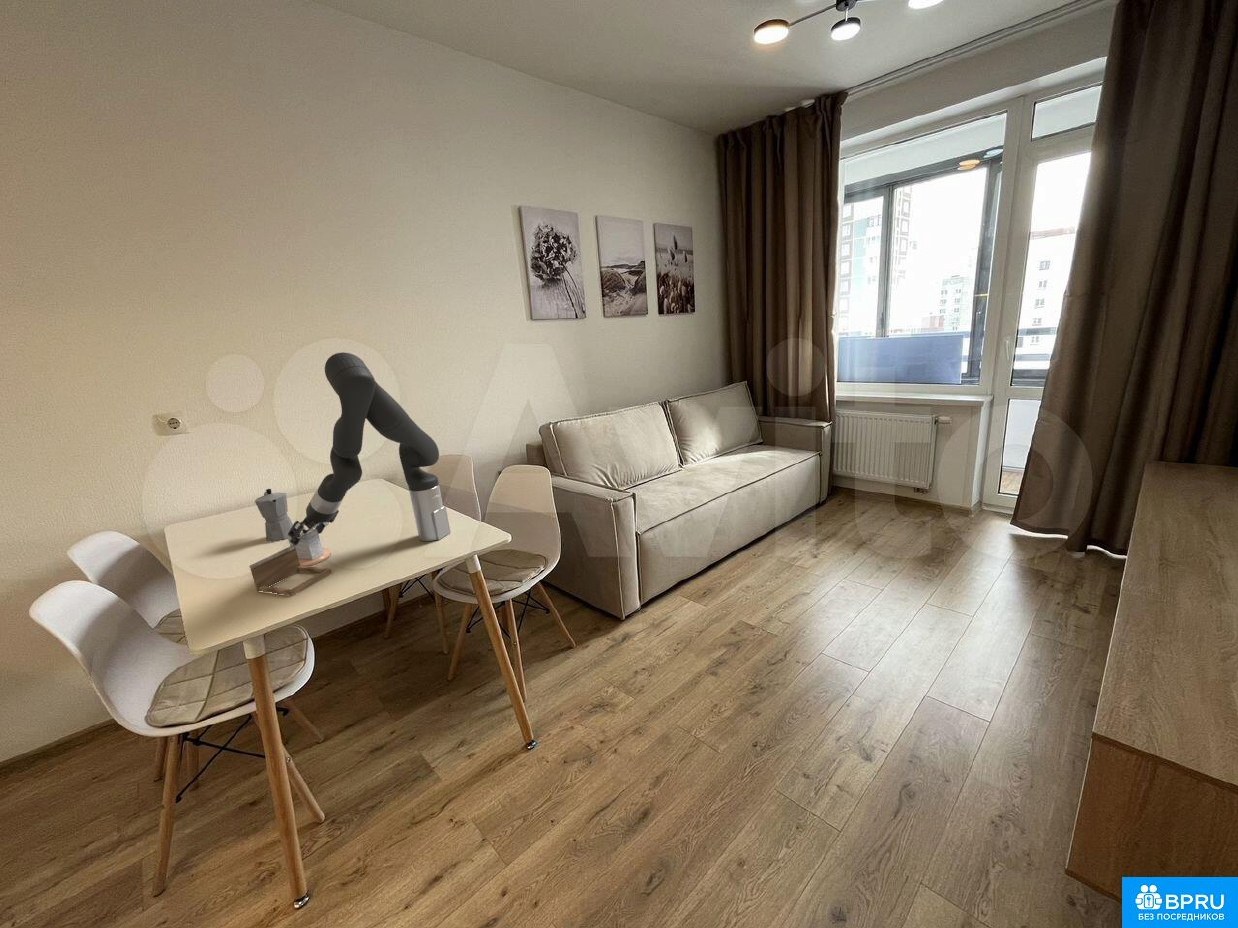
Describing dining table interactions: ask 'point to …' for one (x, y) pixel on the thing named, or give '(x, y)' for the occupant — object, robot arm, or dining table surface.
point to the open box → (283, 572)
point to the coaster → (319, 559)
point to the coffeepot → (274, 515)
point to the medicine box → (308, 545)
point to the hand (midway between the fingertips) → (306, 537)
